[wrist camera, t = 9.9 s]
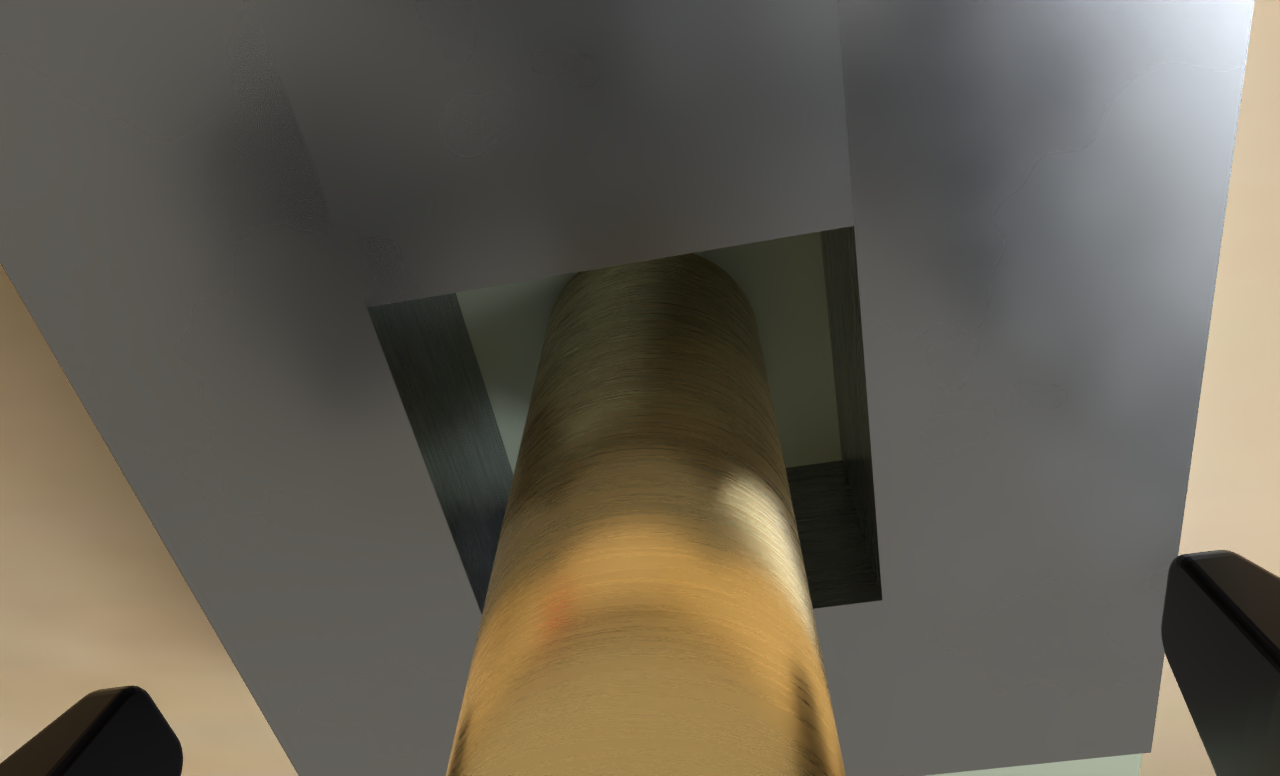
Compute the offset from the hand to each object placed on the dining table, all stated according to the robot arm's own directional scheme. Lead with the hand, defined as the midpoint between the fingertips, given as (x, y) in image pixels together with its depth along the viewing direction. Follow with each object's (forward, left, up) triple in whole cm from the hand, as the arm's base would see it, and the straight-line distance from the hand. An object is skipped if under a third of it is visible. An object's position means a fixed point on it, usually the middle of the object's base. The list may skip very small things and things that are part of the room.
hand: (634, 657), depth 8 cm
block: (0, 0, -6) cm, 6 cm away
